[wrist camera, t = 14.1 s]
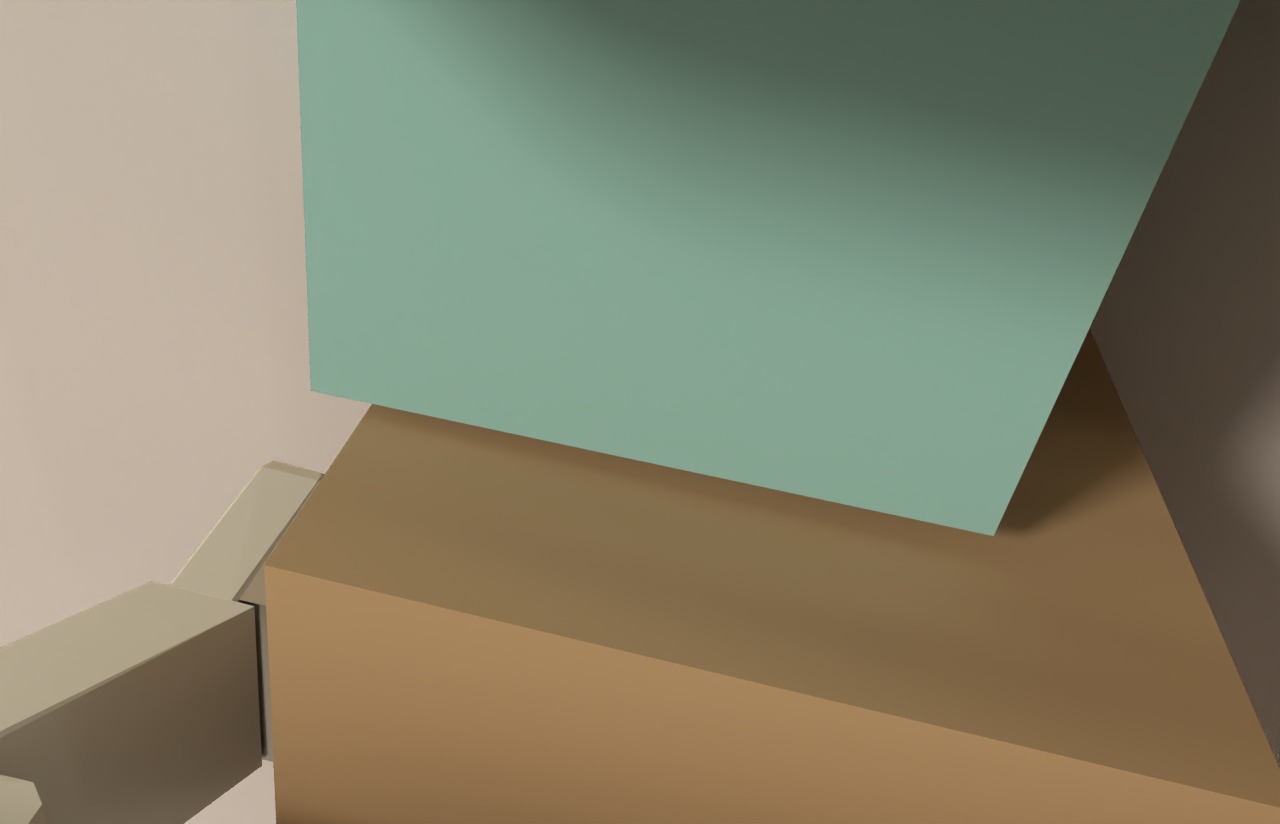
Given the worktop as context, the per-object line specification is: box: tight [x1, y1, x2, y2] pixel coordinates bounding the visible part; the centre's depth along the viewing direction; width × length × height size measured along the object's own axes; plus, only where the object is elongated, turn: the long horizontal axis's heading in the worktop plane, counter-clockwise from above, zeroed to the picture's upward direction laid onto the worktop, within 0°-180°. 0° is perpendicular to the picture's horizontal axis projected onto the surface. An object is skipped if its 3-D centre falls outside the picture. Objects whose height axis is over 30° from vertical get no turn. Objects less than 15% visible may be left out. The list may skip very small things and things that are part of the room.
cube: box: [264, 329, 1280, 824], centre depth 8 cm, size 5×5×5 cm
